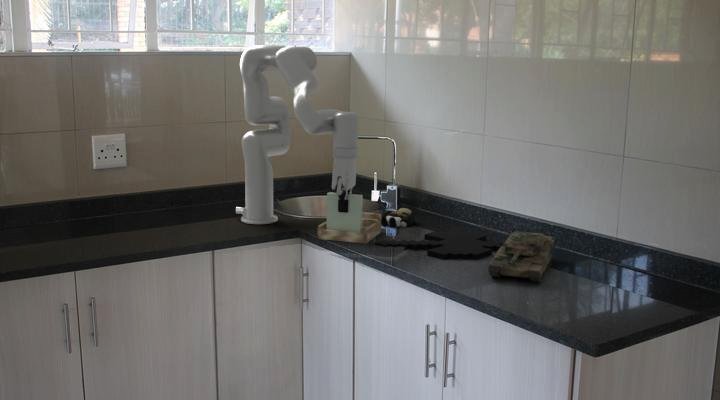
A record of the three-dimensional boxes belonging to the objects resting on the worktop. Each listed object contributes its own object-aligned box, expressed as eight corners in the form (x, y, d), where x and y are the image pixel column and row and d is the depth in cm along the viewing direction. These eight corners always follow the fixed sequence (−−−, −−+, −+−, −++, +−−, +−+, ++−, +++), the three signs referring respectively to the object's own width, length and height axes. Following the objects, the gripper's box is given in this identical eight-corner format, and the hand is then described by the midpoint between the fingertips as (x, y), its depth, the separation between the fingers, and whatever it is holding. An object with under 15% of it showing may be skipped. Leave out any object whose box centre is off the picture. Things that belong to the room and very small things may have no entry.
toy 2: (481, 289, 211) (483, 251, 209) (509, 254, 245) (511, 222, 243) (533, 295, 206) (536, 257, 204) (554, 259, 240) (557, 226, 238)
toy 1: (369, 215, 275) (392, 196, 286) (372, 235, 278) (394, 215, 289) (402, 220, 268) (423, 201, 279) (404, 240, 271) (425, 220, 282)
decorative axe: (438, 225, 272) (515, 241, 252) (437, 231, 273) (515, 248, 253) (374, 242, 249) (454, 261, 229) (374, 249, 249) (453, 269, 230)
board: (326, 237, 256) (327, 193, 253) (328, 235, 257) (329, 192, 255) (359, 240, 252) (360, 196, 249) (361, 239, 254) (362, 195, 251)
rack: (317, 241, 255) (317, 219, 254) (334, 230, 270) (334, 209, 269) (366, 246, 250) (366, 224, 249) (380, 234, 265) (381, 213, 264)
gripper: (342, 148, 258) (341, 205, 262) (325, 155, 243) (324, 215, 247) (364, 150, 256) (363, 207, 259) (348, 156, 241) (347, 217, 245)
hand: (344, 210), depth 253 cm, fingers closed on board, 2 cm apart
